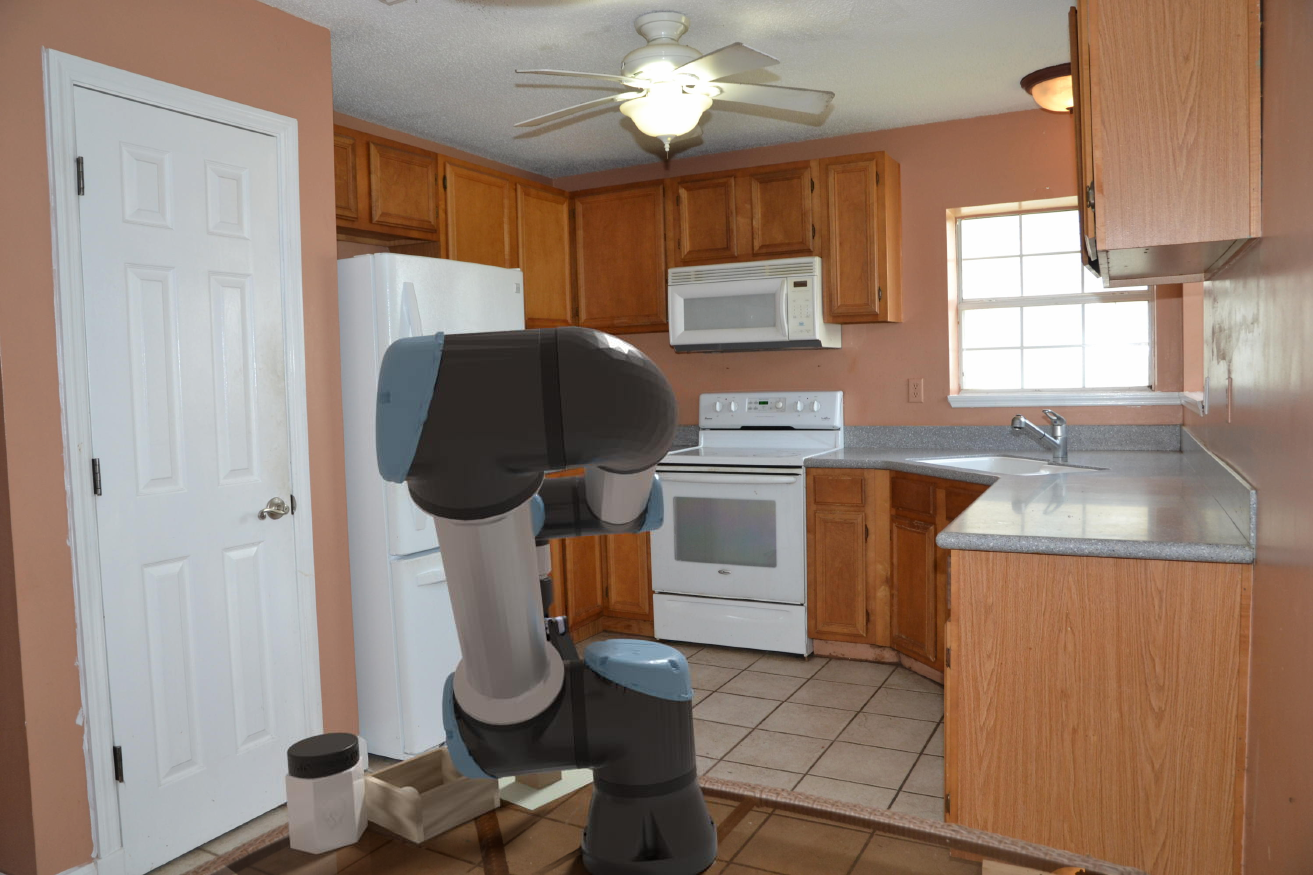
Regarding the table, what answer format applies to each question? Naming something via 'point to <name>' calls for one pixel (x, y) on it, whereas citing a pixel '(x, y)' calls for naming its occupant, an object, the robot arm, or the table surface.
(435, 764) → the box
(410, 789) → the ball
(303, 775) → the jar
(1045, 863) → the table surface
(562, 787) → the lid
